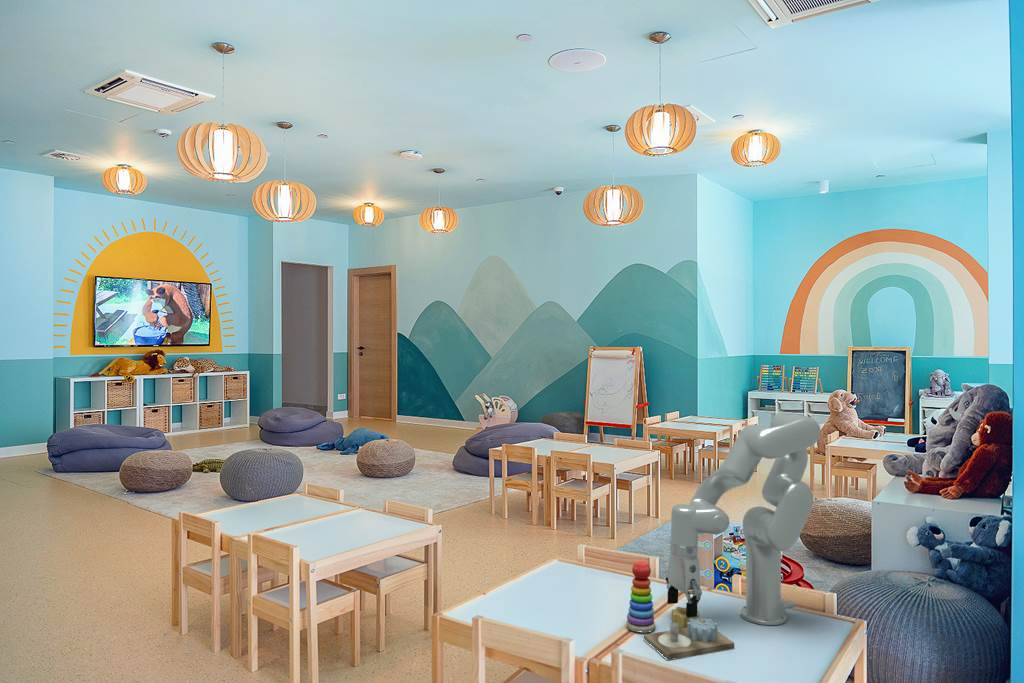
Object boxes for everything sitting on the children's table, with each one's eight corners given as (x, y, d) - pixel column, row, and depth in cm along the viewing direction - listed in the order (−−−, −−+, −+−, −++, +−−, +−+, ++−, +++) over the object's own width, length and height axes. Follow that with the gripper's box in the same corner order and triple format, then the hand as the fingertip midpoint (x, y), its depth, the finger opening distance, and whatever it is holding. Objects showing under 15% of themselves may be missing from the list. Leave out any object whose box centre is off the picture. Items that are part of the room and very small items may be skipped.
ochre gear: (689, 617, 202) (689, 605, 202) (704, 627, 195) (704, 615, 194) (666, 620, 199) (666, 608, 199) (680, 631, 192) (680, 619, 192)
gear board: (707, 629, 193) (707, 608, 193) (734, 648, 182) (734, 625, 182) (643, 640, 187) (643, 618, 187) (667, 660, 176) (666, 636, 176)
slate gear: (698, 627, 191) (698, 613, 191) (722, 636, 186) (722, 622, 185) (681, 635, 186) (681, 621, 186) (706, 645, 181) (706, 630, 181)
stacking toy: (655, 635, 190) (655, 567, 190) (625, 633, 192) (625, 565, 191) (655, 623, 198) (655, 557, 198) (627, 621, 200) (626, 556, 199)
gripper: (713, 558, 189) (711, 620, 190) (679, 539, 206) (677, 597, 206) (689, 560, 187) (687, 623, 187) (656, 541, 204) (654, 599, 204)
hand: (681, 609), depth 197 cm, fingers open, 9 cm apart
